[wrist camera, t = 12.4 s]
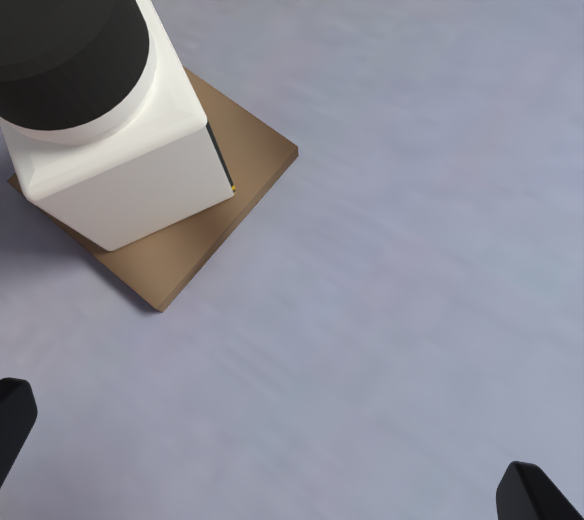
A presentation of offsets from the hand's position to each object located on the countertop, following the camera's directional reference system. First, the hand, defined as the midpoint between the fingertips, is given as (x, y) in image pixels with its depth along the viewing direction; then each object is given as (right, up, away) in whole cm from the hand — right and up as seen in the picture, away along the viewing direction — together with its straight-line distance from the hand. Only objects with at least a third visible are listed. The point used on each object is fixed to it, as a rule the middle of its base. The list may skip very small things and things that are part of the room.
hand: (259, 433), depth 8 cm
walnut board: (-7, +8, +16) cm, 20 cm away
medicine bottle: (-7, +8, +16) cm, 19 cm away
